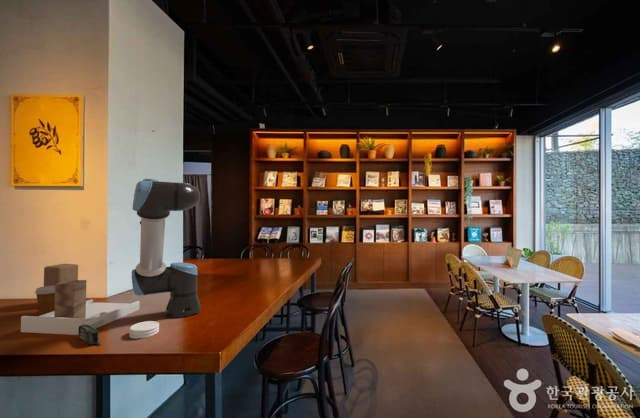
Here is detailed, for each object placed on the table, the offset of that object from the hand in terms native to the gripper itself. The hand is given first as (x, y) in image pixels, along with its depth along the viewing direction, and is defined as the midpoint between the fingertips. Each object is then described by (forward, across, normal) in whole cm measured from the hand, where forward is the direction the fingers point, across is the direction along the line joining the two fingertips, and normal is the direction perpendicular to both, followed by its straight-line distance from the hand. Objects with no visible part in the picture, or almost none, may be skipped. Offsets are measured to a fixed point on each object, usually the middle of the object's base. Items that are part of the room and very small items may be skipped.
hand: (149, 252), depth 155 cm
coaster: (+27, +39, +27) cm, 54 cm away
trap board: (+26, +27, -9) cm, 39 cm away
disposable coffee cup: (+27, +22, -34) cm, 48 cm away
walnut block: (+24, +37, -7) cm, 44 cm away
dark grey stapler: (+27, +47, +12) cm, 56 cm away
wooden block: (+27, +9, -42) cm, 51 cm away
